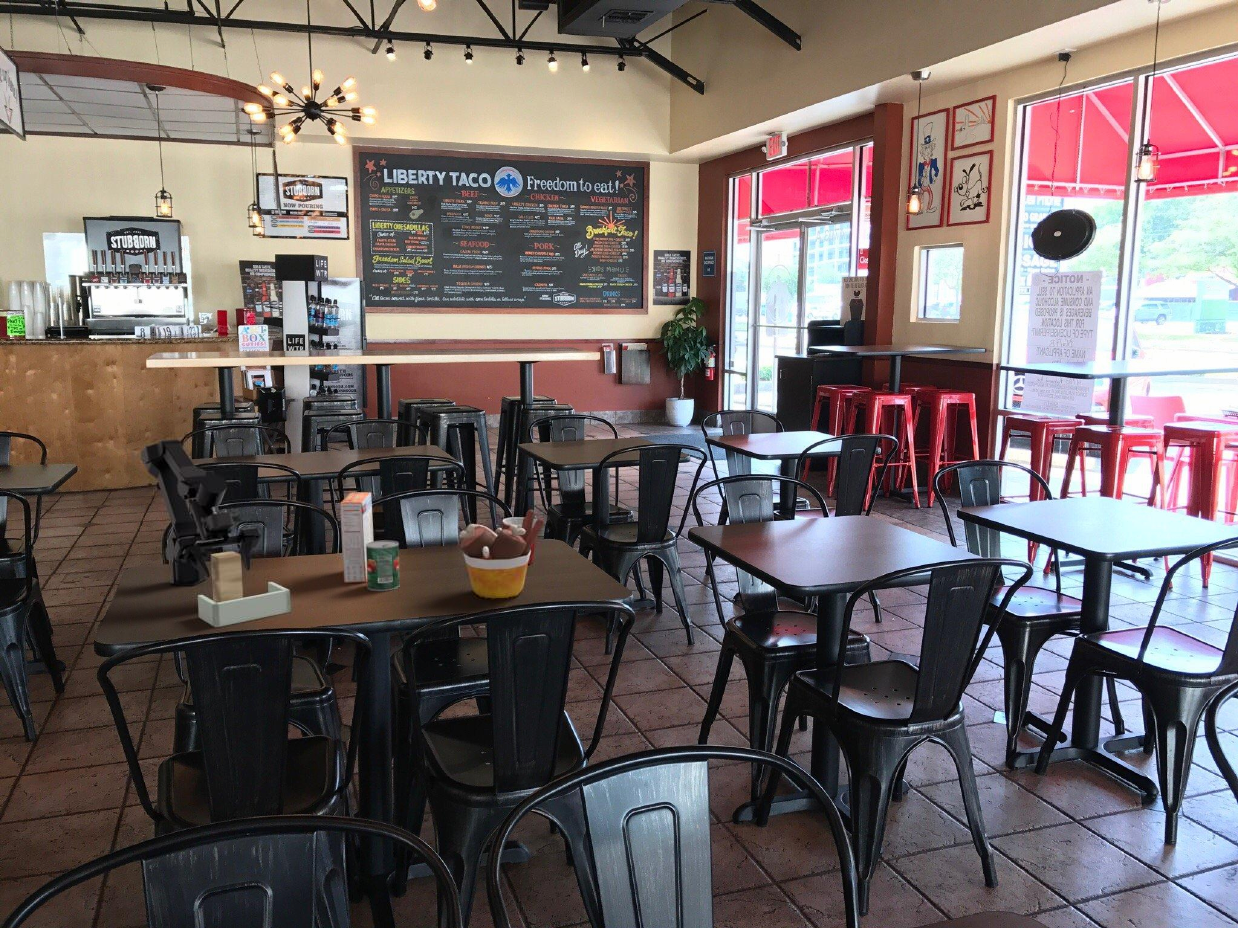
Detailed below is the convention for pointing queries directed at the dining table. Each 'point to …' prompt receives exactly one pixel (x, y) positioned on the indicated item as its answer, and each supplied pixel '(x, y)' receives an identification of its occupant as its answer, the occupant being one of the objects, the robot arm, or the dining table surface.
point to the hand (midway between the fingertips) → (228, 573)
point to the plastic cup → (518, 523)
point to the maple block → (226, 576)
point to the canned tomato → (382, 565)
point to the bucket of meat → (499, 556)
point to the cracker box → (356, 535)
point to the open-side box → (245, 607)
